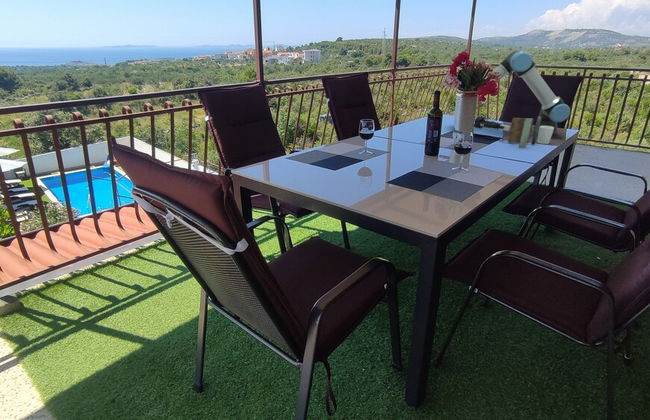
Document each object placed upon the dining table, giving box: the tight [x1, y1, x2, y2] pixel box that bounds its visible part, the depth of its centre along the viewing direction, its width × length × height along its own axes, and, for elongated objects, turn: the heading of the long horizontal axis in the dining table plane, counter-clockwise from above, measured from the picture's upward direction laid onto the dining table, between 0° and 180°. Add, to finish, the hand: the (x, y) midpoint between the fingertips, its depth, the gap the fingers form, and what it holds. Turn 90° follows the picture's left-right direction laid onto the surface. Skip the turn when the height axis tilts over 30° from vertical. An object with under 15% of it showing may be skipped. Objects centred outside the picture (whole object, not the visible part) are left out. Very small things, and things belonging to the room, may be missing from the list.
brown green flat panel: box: [507, 117, 535, 144], centre depth 229 cm, size 12×1×15 cm, turn 84°
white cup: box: [536, 126, 554, 145], centre depth 232 cm, size 8×8×10 cm
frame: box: [518, 115, 542, 149], centre depth 223 cm, size 16×2×17 cm, turn 124°
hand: (509, 128), depth 232 cm, fingers closed
